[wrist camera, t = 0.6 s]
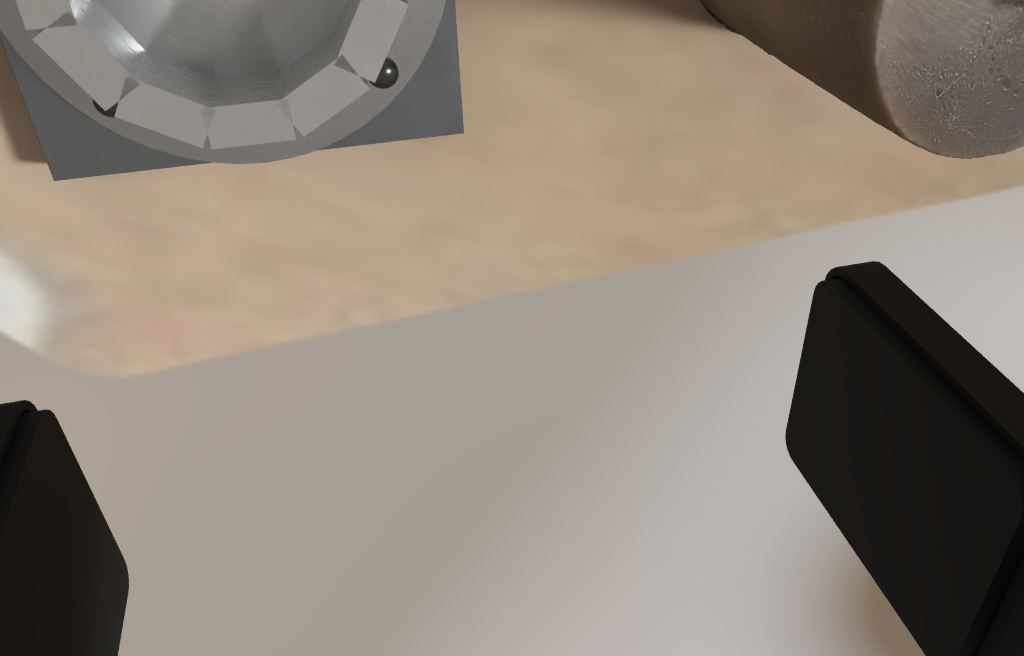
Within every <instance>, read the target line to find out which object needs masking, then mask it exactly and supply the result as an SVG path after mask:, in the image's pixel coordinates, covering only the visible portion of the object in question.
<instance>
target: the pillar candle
mask: <svg viewBox="0 0 1024 656" xmlns="http://www.w3.org/2000/svg"><path fill="white" fill-rule="evenodd" d="M700 1H701V3H702V4H703V5H704V6H705V9H706V10H707V11H708V12H709V13H710V14H711V15H712V16H713V17H714V18H715V19H716V20H717V21H718V22H719V23H721V24H726V27H727V28H729V30H731V31H733V32H735V33H737V34H741V35H742V36H744V37H745V38H747V39H748V40H750V41H751V42H753V43H754V44H756V45H757V46H758V47H760V48H762V49H763V50H764V51H766V52H767V53H768V54H769V55H773V56H775V57H776V58H777V59H779V60H780V61H781V62H783V63H784V64H786V65H787V66H789V67H790V68H792V69H793V70H795V71H797V72H798V73H800V74H801V75H803V76H805V77H806V78H808V79H809V80H811V81H812V82H814V83H815V84H816V85H818V86H820V87H821V88H823V89H824V90H826V91H828V92H829V93H831V94H832V95H834V96H836V97H837V98H838V99H840V100H841V101H843V102H844V103H846V104H848V105H849V106H851V107H852V108H854V109H855V110H857V111H859V112H861V113H862V114H864V115H865V116H866V117H868V118H870V119H871V120H873V121H874V122H876V123H877V124H879V125H881V126H883V127H885V128H886V129H888V130H890V131H892V132H893V133H895V134H896V135H898V136H899V137H901V138H903V139H905V140H907V141H908V142H910V143H912V144H914V145H916V146H918V147H921V148H923V149H925V150H927V151H929V152H932V153H934V154H937V155H941V156H945V157H953V158H962V159H964V158H968V159H972V158H978V157H984V156H988V155H996V154H1004V153H1006V152H1010V151H1013V150H1015V149H1017V148H1020V147H1022V146H1024V0H700Z"/></svg>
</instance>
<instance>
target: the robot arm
mask: <svg viewBox="0 0 1024 656" xmlns="http://www.w3.org/2000/svg"><path fill="white" fill-rule="evenodd" d="M785 437H786V445H787V449H788V452H789V454H790V457H791V459H792V460H793V462H794V464H795V465H796V466H797V468H798V469H799V471H800V472H801V474H802V475H803V477H804V478H805V480H806V481H807V483H808V484H809V485H810V487H811V488H812V490H813V491H814V493H815V494H816V496H817V497H818V499H819V500H820V501H821V503H822V504H823V506H824V507H825V509H826V510H827V511H828V513H829V515H830V516H831V518H832V519H833V521H834V522H835V523H836V525H837V526H838V528H839V529H840V531H841V532H842V534H843V535H844V537H845V538H846V540H847V541H848V543H849V544H850V545H851V547H852V548H853V550H854V551H855V553H856V554H857V556H858V557H859V558H860V560H861V562H862V563H863V564H864V566H865V567H866V569H867V570H868V572H869V573H870V574H871V576H872V578H873V579H874V580H875V582H876V583H877V585H878V586H879V587H880V589H881V591H882V592H883V594H884V595H885V597H886V598H887V599H888V601H889V602H890V604H891V605H892V607H893V608H894V610H895V611H896V613H897V614H898V616H899V617H900V619H901V620H902V622H903V623H904V624H905V626H906V627H907V629H908V630H909V632H910V633H911V635H912V636H913V638H914V639H915V640H916V642H917V643H918V645H919V646H920V648H921V649H922V651H923V652H924V654H925V655H926V656H1024V393H1023V392H1022V391H1021V390H1020V389H1019V388H1017V387H1016V386H1015V385H1014V384H1013V383H1012V382H1011V381H1010V380H1009V379H1008V378H1007V377H1005V376H1004V375H1003V374H1002V373H1001V372H1000V371H999V370H998V369H997V368H996V367H994V366H993V365H992V364H991V363H990V362H989V361H988V360H987V359H986V358H985V357H983V355H982V354H980V353H979V352H978V351H977V350H976V349H975V348H974V347H973V346H972V345H971V344H970V343H968V342H967V341H966V340H965V339H964V338H963V337H962V336H961V335H960V334H958V332H957V331H955V330H954V329H953V328H952V327H951V326H950V325H949V324H948V323H947V322H946V321H944V320H943V319H942V318H941V317H940V316H939V315H938V314H937V313H936V312H935V311H934V310H933V309H931V308H930V307H929V306H928V305H927V304H926V303H925V302H924V301H923V300H921V299H920V298H919V297H918V296H917V295H916V294H915V293H914V292H913V291H912V290H911V289H910V288H909V287H907V286H906V285H905V284H904V283H903V282H902V281H901V280H900V279H899V278H898V277H897V276H896V275H894V274H893V273H892V272H891V271H890V270H889V269H888V268H887V267H886V266H885V265H883V264H881V263H880V262H875V261H872V262H866V263H860V264H853V265H848V266H841V267H835V268H833V269H831V270H830V271H829V273H828V274H827V275H826V278H825V281H821V282H819V283H818V284H817V285H816V288H815V290H814V294H813V299H812V304H811V309H810V314H809V319H808V324H807V329H806V334H805V339H804V344H803V349H802V354H801V359H800V364H799V369H798V374H797V379H796V384H795V389H794V394H793V399H792V404H791V409H790V414H789V418H788V423H787V429H786V436H785ZM128 590H129V577H128V570H127V566H126V563H125V560H124V558H123V556H122V553H121V551H120V549H119V547H118V545H117V543H116V541H115V539H114V537H113V535H112V532H111V530H110V528H109V526H108V524H107V522H106V520H105V518H104V516H103V514H102V512H101V510H100V508H99V505H98V503H97V501H96V499H95V497H94V495H93V493H92V491H91V489H90V487H89V485H88V482H87V480H86V478H85V476H84V474H83V472H82V470H81V468H80V466H79V464H78V462H77V460H76V457H75V456H74V453H73V452H72V449H71V447H70V445H69V443H68V441H67V439H66V437H65V435H64V432H63V430H62V428H61V426H60V424H59V422H58V420H57V418H56V417H55V415H54V413H53V412H52V411H50V410H41V411H38V410H37V409H36V407H35V406H34V405H33V404H32V403H31V402H30V401H26V400H23V401H16V402H11V403H4V404H0V656H118V650H119V644H120V639H121V633H122V626H123V621H124V615H125V608H126V603H127V597H128Z"/></svg>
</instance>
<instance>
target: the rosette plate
mask: <svg viewBox="0 0 1024 656" xmlns="http://www.w3.org/2000/svg"><path fill="white" fill-rule="evenodd" d="M0 38H1V41H2V43H3V46H4V49H5V51H6V54H7V57H8V59H9V62H10V65H11V67H12V70H13V73H14V75H15V78H16V81H17V83H18V86H19V89H20V91H21V94H22V97H23V99H24V102H25V105H26V107H27V110H28V113H29V115H30V118H31V121H32V123H33V126H34V129H35V131H36V134H37V137H38V139H39V142H40V145H41V147H42V150H43V153H44V155H45V158H46V161H47V163H48V166H49V169H50V172H51V174H52V177H53V180H54V181H58V180H67V179H75V178H84V177H92V176H101V175H109V174H118V173H127V172H135V171H144V170H152V169H161V168H169V167H178V166H187V165H195V164H204V163H212V162H215V163H232V164H246V163H263V162H271V161H276V160H282V159H288V158H293V157H296V156H300V155H303V154H306V153H309V152H312V151H316V150H324V149H332V148H341V147H349V146H358V145H366V144H375V143H384V142H392V141H401V140H409V139H418V138H426V137H435V136H444V135H452V134H461V133H464V129H463V114H462V99H461V84H460V70H459V55H458V40H457V25H456V10H455V0H0Z"/></svg>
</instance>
